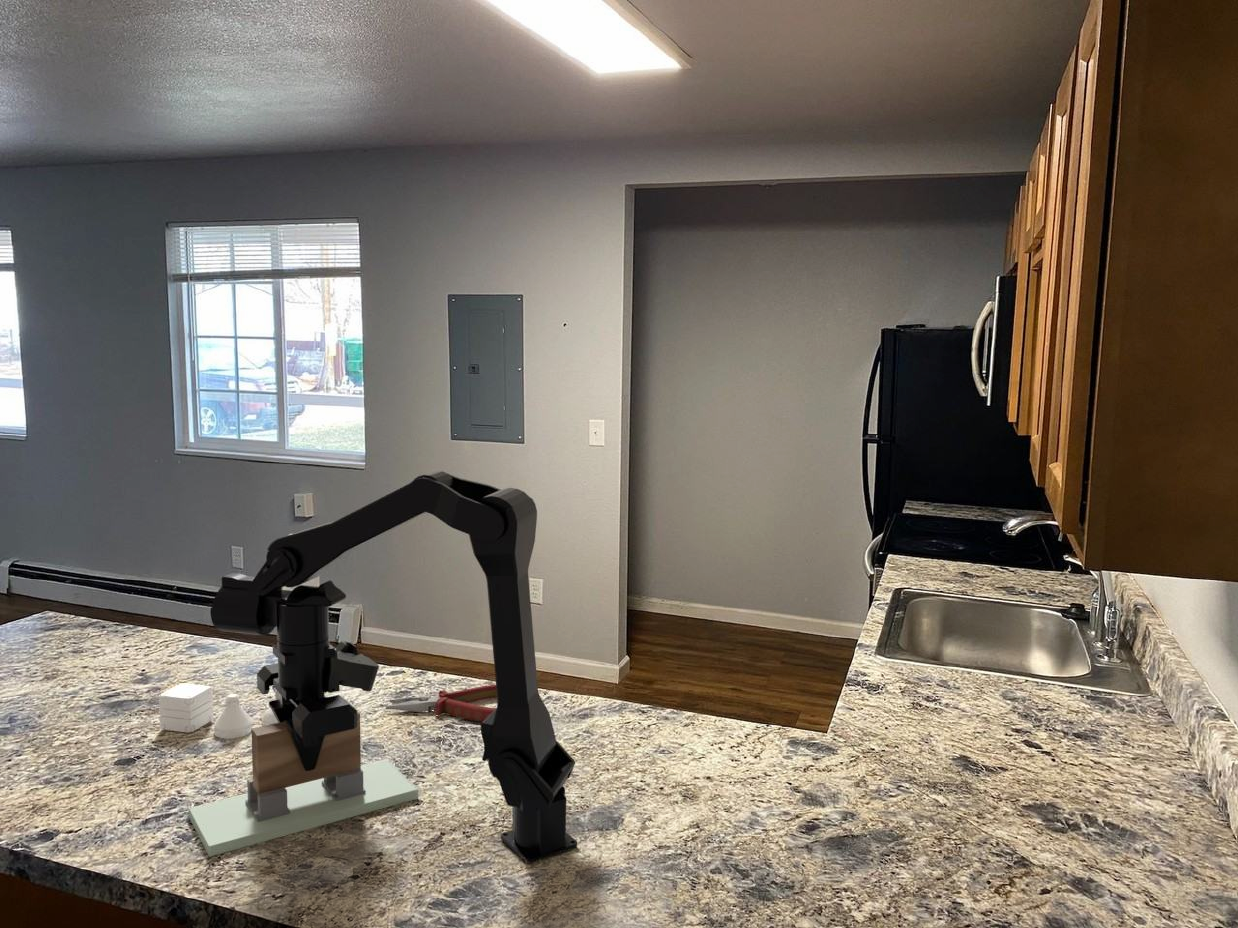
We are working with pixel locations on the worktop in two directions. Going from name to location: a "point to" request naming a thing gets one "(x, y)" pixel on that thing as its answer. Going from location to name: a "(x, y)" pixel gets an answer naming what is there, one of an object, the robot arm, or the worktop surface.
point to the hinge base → (298, 806)
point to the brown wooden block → (283, 766)
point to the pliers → (451, 703)
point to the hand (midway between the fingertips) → (306, 765)
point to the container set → (205, 712)
